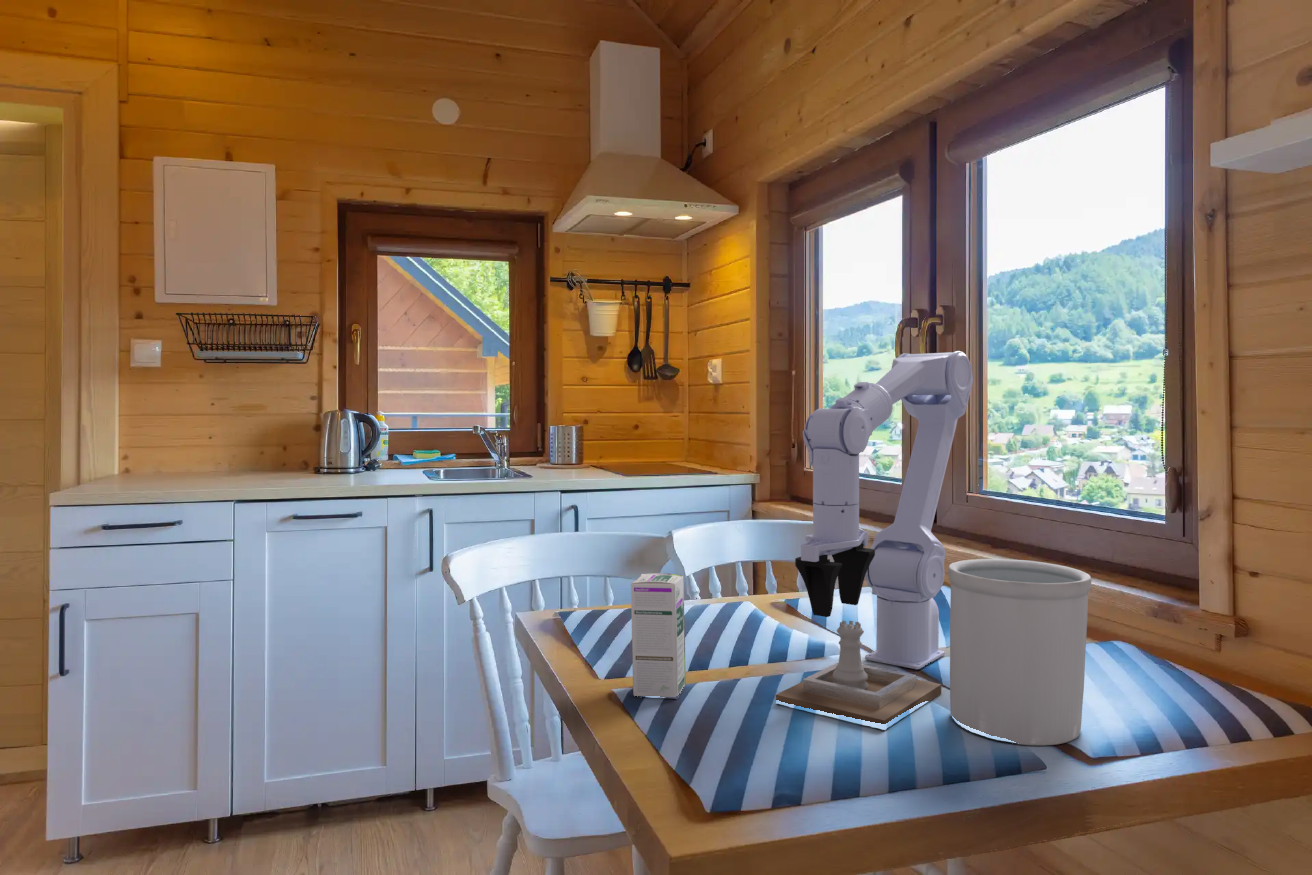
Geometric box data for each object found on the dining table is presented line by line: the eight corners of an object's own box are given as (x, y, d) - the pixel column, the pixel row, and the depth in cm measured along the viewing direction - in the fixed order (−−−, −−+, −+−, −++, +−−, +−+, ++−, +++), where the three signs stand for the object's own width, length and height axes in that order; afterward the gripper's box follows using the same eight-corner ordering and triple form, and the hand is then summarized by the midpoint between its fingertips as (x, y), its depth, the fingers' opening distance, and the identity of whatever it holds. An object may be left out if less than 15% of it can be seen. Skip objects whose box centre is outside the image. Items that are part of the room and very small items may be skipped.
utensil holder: (1033, 697, 111) (1034, 555, 110) (1119, 742, 96) (1122, 578, 95) (922, 706, 108) (923, 560, 107) (995, 754, 93) (997, 586, 92)
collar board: (839, 672, 121) (839, 652, 121) (941, 693, 112) (941, 672, 112) (775, 704, 109) (775, 682, 108) (884, 730, 100) (884, 706, 100)
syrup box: (678, 700, 110) (677, 582, 110) (631, 697, 111) (630, 580, 111) (686, 685, 116) (685, 573, 115) (641, 683, 117) (640, 571, 116)
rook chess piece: (872, 685, 112) (873, 621, 111) (863, 695, 108) (863, 629, 107) (837, 680, 114) (837, 617, 113) (826, 690, 110) (826, 625, 110)
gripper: (834, 495, 122) (834, 594, 123) (779, 506, 111) (779, 616, 112) (882, 499, 118) (882, 601, 119) (830, 511, 107) (831, 624, 107)
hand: (836, 609), depth 115 cm, fingers open, 7 cm apart
